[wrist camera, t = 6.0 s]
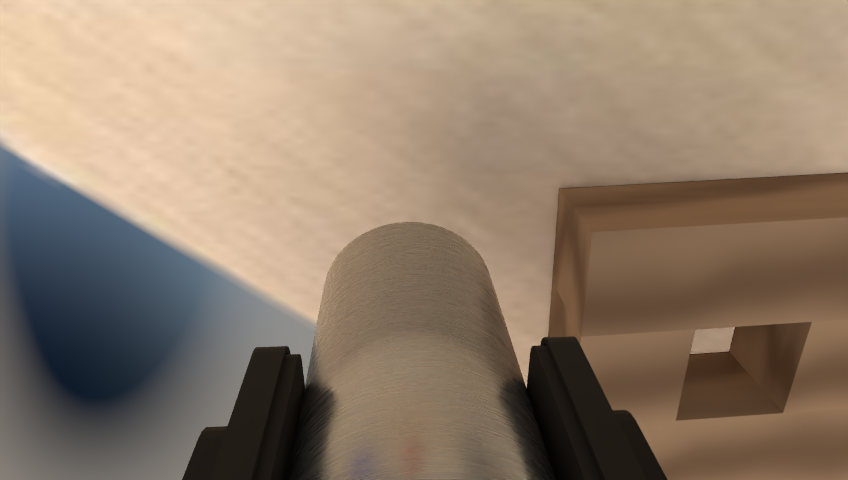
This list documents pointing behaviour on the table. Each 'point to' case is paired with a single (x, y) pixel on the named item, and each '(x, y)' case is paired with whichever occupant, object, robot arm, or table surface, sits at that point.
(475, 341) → the peg
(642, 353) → the socket block
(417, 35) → the table surface
